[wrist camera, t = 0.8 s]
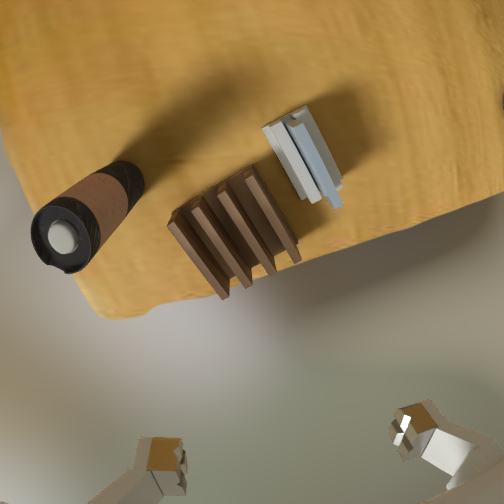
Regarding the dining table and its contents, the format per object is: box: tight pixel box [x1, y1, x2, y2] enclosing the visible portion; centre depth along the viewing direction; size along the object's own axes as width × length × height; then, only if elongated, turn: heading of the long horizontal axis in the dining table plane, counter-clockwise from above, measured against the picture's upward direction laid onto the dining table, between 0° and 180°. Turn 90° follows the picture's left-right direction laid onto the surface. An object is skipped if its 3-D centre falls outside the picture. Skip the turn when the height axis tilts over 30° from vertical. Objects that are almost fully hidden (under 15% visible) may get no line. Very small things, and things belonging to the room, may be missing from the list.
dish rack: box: [167, 164, 302, 300], centre depth 45 cm, size 14×14×6 cm
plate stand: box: [261, 105, 343, 204], centre depth 41 cm, size 7×12×4 cm, turn 30°
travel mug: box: [31, 161, 144, 274], centre depth 35 cm, size 8×8×20 cm
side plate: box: [282, 118, 343, 210], centre depth 38 cm, size 1×11×9 cm, turn 30°
